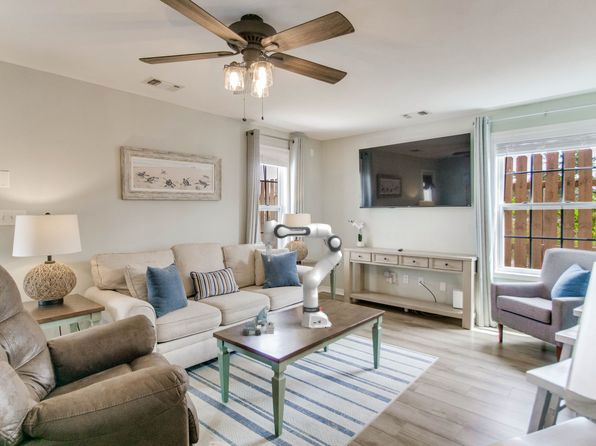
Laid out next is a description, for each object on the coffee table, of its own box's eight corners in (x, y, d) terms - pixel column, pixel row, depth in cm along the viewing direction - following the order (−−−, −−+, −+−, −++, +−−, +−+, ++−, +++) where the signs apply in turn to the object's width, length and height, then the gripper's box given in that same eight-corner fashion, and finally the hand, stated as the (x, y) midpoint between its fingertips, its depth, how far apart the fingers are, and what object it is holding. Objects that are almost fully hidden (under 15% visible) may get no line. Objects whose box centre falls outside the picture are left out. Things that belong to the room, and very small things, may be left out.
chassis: (261, 330, 236) (261, 323, 236) (261, 335, 225) (261, 329, 225) (244, 330, 236) (244, 323, 235) (243, 336, 224) (243, 329, 224)
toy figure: (266, 329, 237) (266, 308, 237) (251, 328, 239) (251, 307, 239) (272, 322, 253) (272, 302, 253) (259, 321, 255) (259, 302, 255)
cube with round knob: (273, 331, 234) (273, 321, 233) (273, 333, 229) (273, 323, 228) (266, 331, 233) (266, 321, 233) (266, 334, 228) (266, 323, 228)
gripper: (273, 242, 235) (273, 262, 235) (273, 240, 255) (273, 258, 256) (264, 242, 235) (264, 262, 235) (265, 240, 255) (265, 258, 255)
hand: (269, 260), depth 245 cm, fingers open, 8 cm apart
